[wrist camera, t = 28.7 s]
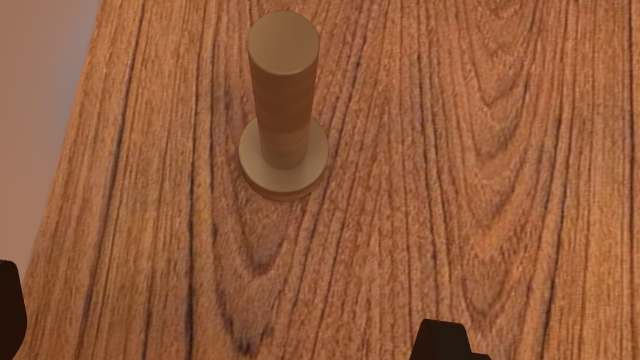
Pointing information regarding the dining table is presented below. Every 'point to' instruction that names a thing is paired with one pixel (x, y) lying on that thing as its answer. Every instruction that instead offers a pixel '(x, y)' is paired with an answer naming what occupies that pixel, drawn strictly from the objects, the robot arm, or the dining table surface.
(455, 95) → the dining table surface
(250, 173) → the peg on round base
